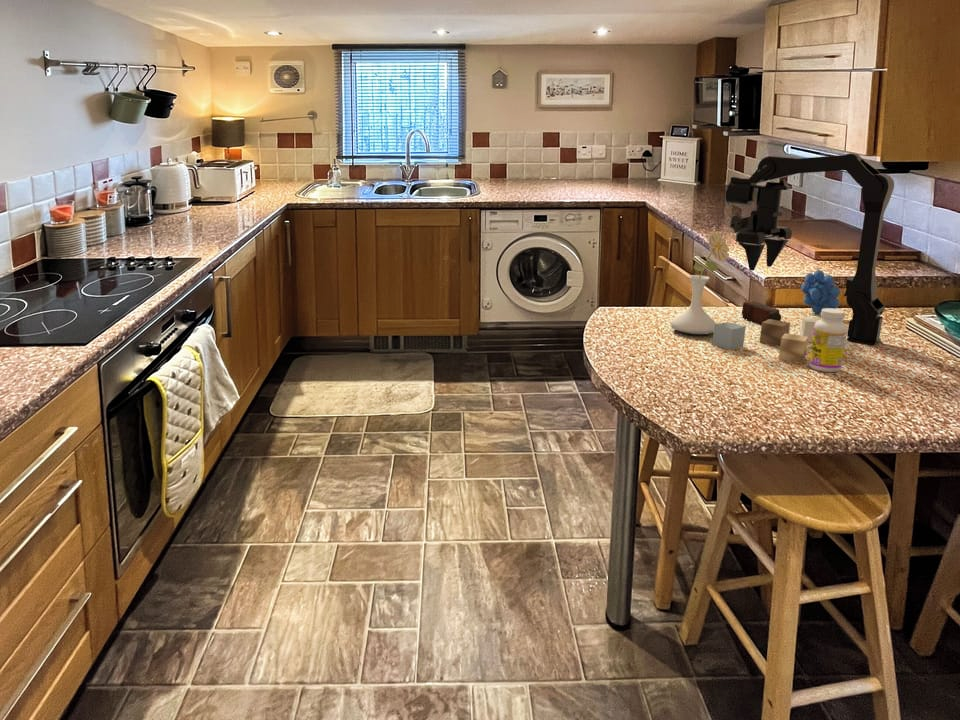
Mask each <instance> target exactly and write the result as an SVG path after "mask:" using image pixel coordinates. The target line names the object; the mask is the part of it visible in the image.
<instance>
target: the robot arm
mask: <svg viewBox="0 0 960 720" xmlns="http://www.w3.org/2000/svg"><path fill="white" fill-rule="evenodd" d="M836 171H837V172H838V171H839V172H841V171H846V172H847V173H848V174H849V175H850V177H852V179H853V181H855V182H856V183H857V184H858V185H859V186H860V187H861V196H862V197H861V199H862V200H861V201H862V205H863V211H864V216H863V223H862V229H861V235H860V244H859V251H858V259H857V264H856V271H855V274H854V276H850V277H849V278H847V279H846V280H845V281H846V282H845V286H846V287H845V288H846V289H845V292H844V294H843V297H846V299H845V301H846V304H847V305H848V306H849V308H850V309H851V311H852V317H851V318H852V319H849V322H848V326H847V335H846V341H849V342H855V343H856V342H857V343H861V344H867V345H872V346H875V345H876V344H878V343H879V342H881V340H882V338H881V337H880V336H881V332H882V325H883V318H884V317H883V316H881V315H883V313H884V311H885V310H886V306H885V304H884V303H883V302H882V301H881V299H880V298H879V297H878V281H877V275H876V269H877V268H876V267H877V262H878V255H879V247H880V241H881V234H882V229H883V228H882V227H883V222H884V221H883V220H884V214H885V212H886V210H887V207H888V205H889V203H890V200H891V198H892V195H893V192H894V188H895V181H894V179H893V178H892V177H891V176H890V174H887V173H881V172H880V171H879V170H878V169H876V168H875V167H873V166H872V165H871V164H869V163H868V162H867V161H865V160H864V158H863V157H861V156H860V155H859V154H858V153H856V152H855V153H853V152H852V153H847V154H840V155H838V154H837V155H827V156H815V157H813V156H811V157H801V158H800V157H793V156H783V155H769V156H765V157H763V158H761V160H760V161H759V163H758V164H757V169H756V170H755V171H754V173H752V175H751V176H750V177H747V178H746V177H745V178H744V177H743V178H742V177H739V176H731V177H730V181H729V183H728V185H727V188H726V191H725V202H726V203H727V204H730V205H740V206H741V205H742V206H751V205H752V204H753V203H754V202H756V204H755V210H752V211H751V212H750V215H749V216H747V217H742V215H739V214H737V215H734V216H731V221H730V224H729V228H730V229H732V230H733V232H734V234H735V242H736V243H738V245H739V246H741V247H742V248H743V249H744V251H745V255H746V261H747V263H748V268H749V271H755V269H756V267H757V266H758V262H759V260H760V257H761V256H762V253H763V250H764V248H765V246H766V267H769V268H771V267H772V266H773V264H774V263H775V261H776V260H777V258H778V257H779V255H780V253H781V252H782V250H783V249H784V247H785V246H786V244H787V243H788V242H789V240H791V239H792V235H793V230H792V229H791V228H790V227H787V226H782V225H781V226H780V225H779V217H782V216H783V211H780V207H781V200H782V191H788V190H792V187H791V186H790V185H789V183H787V181H786V179H782V178H786V177H789V176H790V177H791V176H794V175H797V174H808V173H821V172H822V173H823V172H836ZM777 179H782V180H780V181H779V182H777V181H776V182H775V181H771V180H777ZM766 182H767V183H766ZM760 183H766V184H765V185H762V184H761V185H759V184H760Z"/></svg>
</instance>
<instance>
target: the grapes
mask: <svg viewBox="0 0 960 720" xmlns="http://www.w3.org/2000/svg"><path fill="white" fill-rule="evenodd" d="M804 281H805V282H804V283H802V284H801V287H800V289H801V291H802V293H803V294H805V295H804V297H803V301H804V304H805V305H806V306H808V307H811V310H812V312H813V314H815V315H821V310H822V309H825V308H833V309H838V308H839V307H840V301H839V299H838V297H839V296H840V295H841V290H840V288H839V287H838V286H837V285H834V284H835V278H834V277H833V276H832V275H830V274H826V275H825V272H823V271H822V270H820V269H816V270H815V272H814V273H807V274H806V275H805V277H804Z"/></svg>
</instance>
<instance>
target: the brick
mask: <svg viewBox="0 0 960 720" xmlns="http://www.w3.org/2000/svg"><path fill="white" fill-rule="evenodd" d="M741 309H742V310H741V314H742V315H741V316H742V319H743V318H744V319H743V320H745V319H747V320H746V321H748V320H749V321H748V322H751V321H752V322H751V323H754V322H755V323H754V324H756V323H757V325H759V324H760V326H762V322H764V321H766V320H768V319H772V320H778V321H782V315H781V314H780V309H778V308H776V307H772V306H771V305H770V306H769V305H766V304H763V303H762V302H759V301H743V303H742V308H741Z"/></svg>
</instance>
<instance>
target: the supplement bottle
mask: <svg viewBox="0 0 960 720" xmlns="http://www.w3.org/2000/svg"><path fill="white" fill-rule="evenodd" d="M845 314H846V311H844V310H842V309H839V308H836V309H833V308H825V309H822V310H821V313H820V315H821V317H820V318H821V320H819V321H817V322H816V323H815V325H814V332H813V338H812V342H811V345H810V346H811V347H810V352H809V356H808V357H809V360H808V366H809V367H810V368H811V369H812V370H815V371H819V372H825V373H836V372H839V371H840V370H841V369H842V366H843V365H842V364H843V360H844V359H843V358H844V355H845V354H844V353H845V346H846V341H847V333H848V326H847V324H846V323H844V319H845V316H846V315H845Z"/></svg>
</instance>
